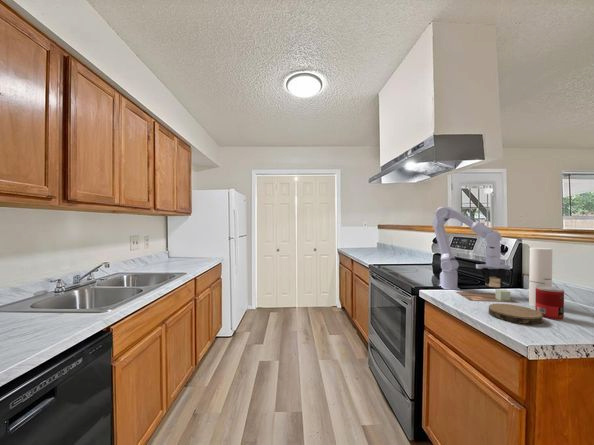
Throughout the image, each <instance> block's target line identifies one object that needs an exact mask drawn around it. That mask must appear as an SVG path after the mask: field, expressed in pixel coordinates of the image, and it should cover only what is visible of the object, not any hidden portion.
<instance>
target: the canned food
mask: <svg viewBox="0 0 594 445" xmlns="http://www.w3.org/2000/svg"><path fill="white" fill-rule="evenodd" d="M534 308H535V309H534V310H536V311H538V312H540V313H541V314H542V318H543V319H548V320H554V321H555V320H557V321H558V320H559V321H560V320H563V319H564V316H565V314H564V312H565V290H564V288H560V287H556V286H553V285H552V286H541V285H540V286H536V303H535V307H534Z"/></svg>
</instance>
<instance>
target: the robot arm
mask: <svg viewBox="0 0 594 445" xmlns="http://www.w3.org/2000/svg"><path fill="white" fill-rule="evenodd" d="M433 214H434V217H433V220H432V228H433V230H434V235H435V238H436V241H437V244H438V248H439V252H440V268H441V271H440V273H439V284H438V286H439V287H440V286H441V287H440V288H442V289H444V290H461V288H459V287H458V268H459V267H460V266H459V262H458V260H457V259H456V257H455V255H454V254H453V252H452V248H451V246H450V242H449V238H448V236H447V233H446V229H445V226H444V225H445V224H446V223H447V221H449V220H450V219H455V220H457V221H460V222H461V223H462V224H465V226H468V227H469V228H470V230H471V232H473V233H474V234H475V235H477V236H479V237H481V238H482V239H484V240H485V242H486V247H485V263H480V264H479V263H476V264H475V268H476V269H477V270H478V269H479V270H480V272H481V274H482V276H483V279H484V284H485V283H486V284H489V277H491V276H490V275H491V272H492V271H491V270H494V271H495V272H494V273H495V277H496V278H499V279H500V284H501V282H502V280H503V278H504V276H505V274H507V270H508V271H511V265H509V264H501V252H502V251H501V250H502V249H501V248H502V247H501V241H502V239H503V236H502V234H501V233H500V232H499V231H496V230H495V229H494V228H490V227H489V226H487V225H485V222H483V221H481V222H480V221H477V222H476V221H474V220H473V219H471V218H469V217H467V216H466V215H464V214H463V213H461V212H460V211H458V210H456V209H453V208H451V207H446V206H439V207H438V208H437V209H436V211H435V212H434V213H433Z"/></svg>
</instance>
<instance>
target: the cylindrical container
mask: <svg viewBox="0 0 594 445" xmlns="http://www.w3.org/2000/svg"><path fill="white" fill-rule="evenodd" d="M528 272H529V275H528V276H529V277H528V278H529V279H528V280H529V282H528V283H529V284H528V285H529V286H528V290H529V291H528V292H529V293H528V305H529V306H532V307H534V308H535V303H536V286H540V285H541V286H552V287H553V248H549V247H529V271H528Z"/></svg>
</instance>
